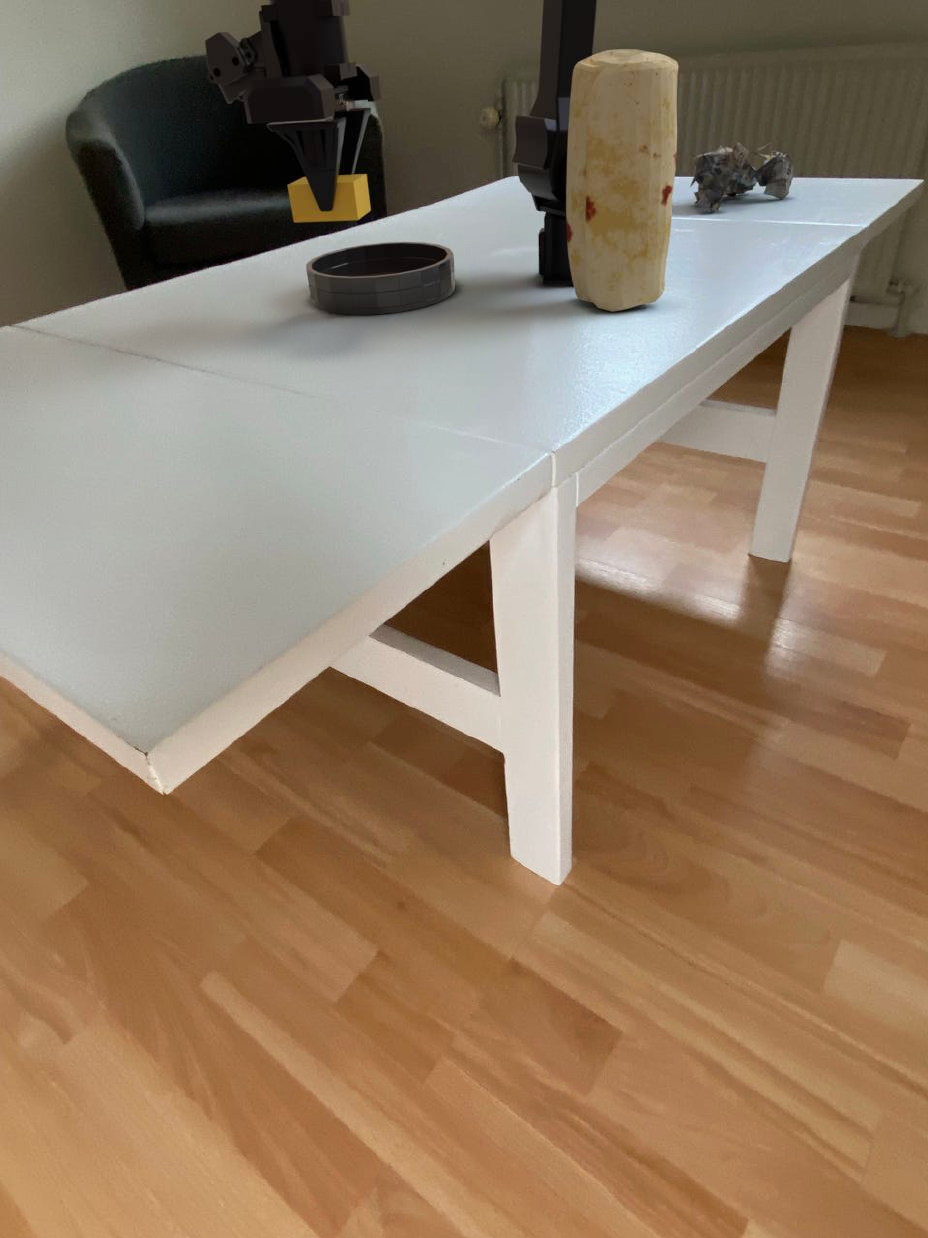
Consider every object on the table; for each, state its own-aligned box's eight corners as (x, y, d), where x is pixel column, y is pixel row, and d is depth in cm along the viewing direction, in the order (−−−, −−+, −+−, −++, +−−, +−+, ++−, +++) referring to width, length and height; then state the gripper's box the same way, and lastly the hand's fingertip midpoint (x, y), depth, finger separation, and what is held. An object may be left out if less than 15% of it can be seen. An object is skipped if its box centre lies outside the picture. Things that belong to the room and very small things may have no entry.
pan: (464, 272, 91) (462, 239, 89) (442, 313, 79) (439, 275, 77) (334, 277, 93) (329, 244, 91) (293, 316, 81) (286, 280, 79)
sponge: (371, 210, 75) (366, 173, 73) (358, 220, 71) (353, 181, 69) (309, 212, 76) (303, 176, 74) (293, 222, 72) (287, 184, 70)
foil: (822, 176, 106) (736, 111, 101) (766, 254, 112) (681, 195, 106) (789, 160, 115) (708, 99, 110) (738, 232, 121) (659, 177, 115)
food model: (672, 297, 78) (693, 43, 66) (653, 317, 74) (672, 48, 62) (576, 291, 82) (580, 50, 70) (552, 310, 77) (552, 55, 66)
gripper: (250, -4, 72) (284, 191, 82) (153, -8, 58) (208, 231, 67) (371, -15, 71) (391, 186, 80) (302, -21, 56) (337, 226, 65)
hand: (334, 205), depth 73 cm, fingers closed on sponge, 4 cm apart
